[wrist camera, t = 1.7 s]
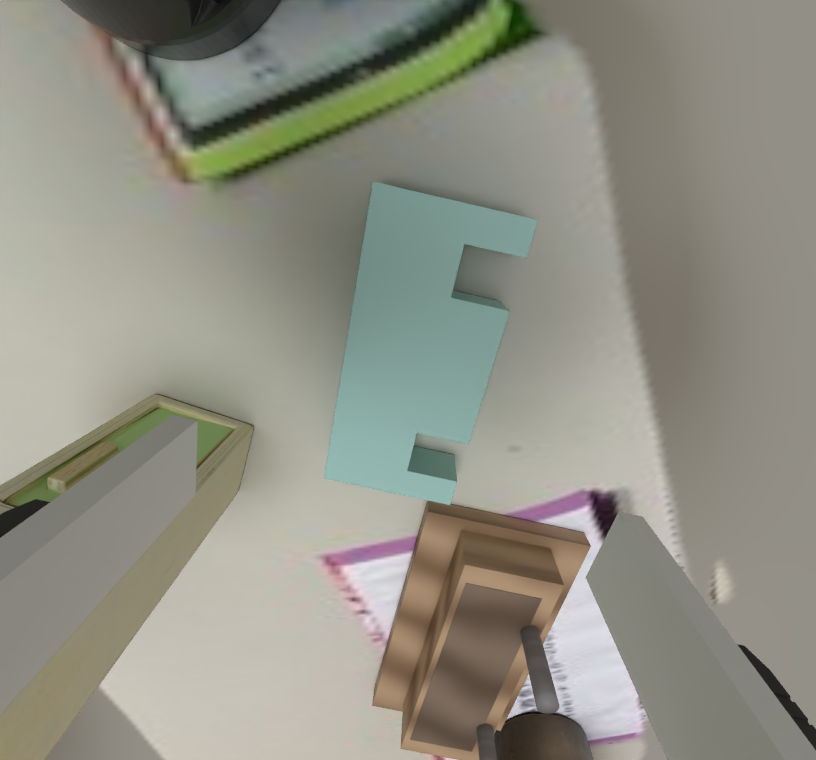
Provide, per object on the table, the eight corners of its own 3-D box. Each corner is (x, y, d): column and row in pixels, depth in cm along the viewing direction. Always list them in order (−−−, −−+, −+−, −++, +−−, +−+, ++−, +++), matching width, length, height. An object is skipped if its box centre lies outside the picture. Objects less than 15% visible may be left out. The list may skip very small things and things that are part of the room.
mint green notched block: (380, 188, 24) (372, 181, 21) (523, 221, 25) (538, 219, 21) (335, 452, 31) (323, 478, 28) (447, 476, 31) (449, 505, 28)
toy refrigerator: (260, 417, 30) (-55, 761, 11) (241, 492, 33) (-40, 881, 13) (156, 382, 30) (-376, 677, 10) (146, 461, 32) (-296, 820, 13)
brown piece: (428, 499, 32) (427, 610, 23) (583, 532, 32) (646, 654, 23) (374, 689, 41) (357, 826, 31) (498, 713, 41) (518, 857, 32)
